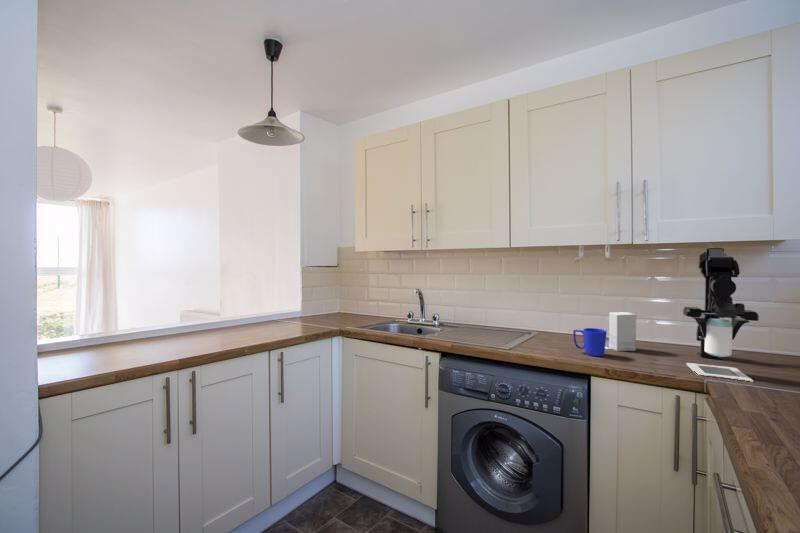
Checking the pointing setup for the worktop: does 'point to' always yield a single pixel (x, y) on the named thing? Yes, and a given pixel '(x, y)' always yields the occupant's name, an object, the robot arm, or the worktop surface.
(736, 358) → the worktop surface
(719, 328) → the can
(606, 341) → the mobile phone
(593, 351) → the mug
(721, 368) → the dock
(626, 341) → the skincare box
